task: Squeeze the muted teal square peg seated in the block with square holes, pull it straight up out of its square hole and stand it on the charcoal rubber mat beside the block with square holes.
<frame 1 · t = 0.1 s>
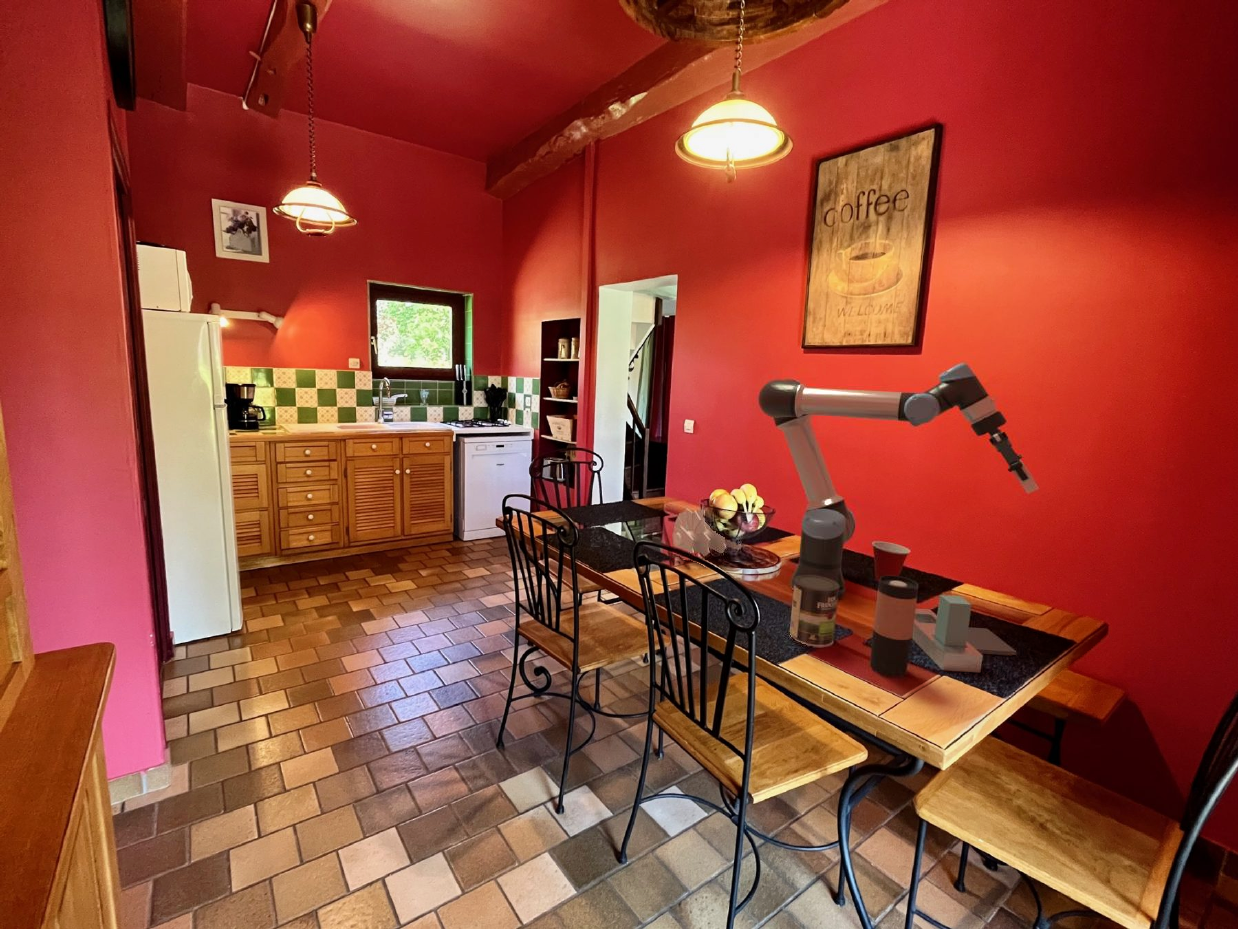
hand: (1031, 486, 147), 36 cm above the table, tool tilted 35°, fingers open, 13 cm apart
rubber mat: (975, 642, 138), on the table
coffee can: (811, 638, 137), on the table
spiral staircase: (706, 558, 193), on the table
travel mug: (887, 669, 124), on the table
plastic cup: (886, 583, 176), on the table
block with square holes: (934, 645, 136), on the table
teal peg: (947, 657, 130), resting in block with square holes
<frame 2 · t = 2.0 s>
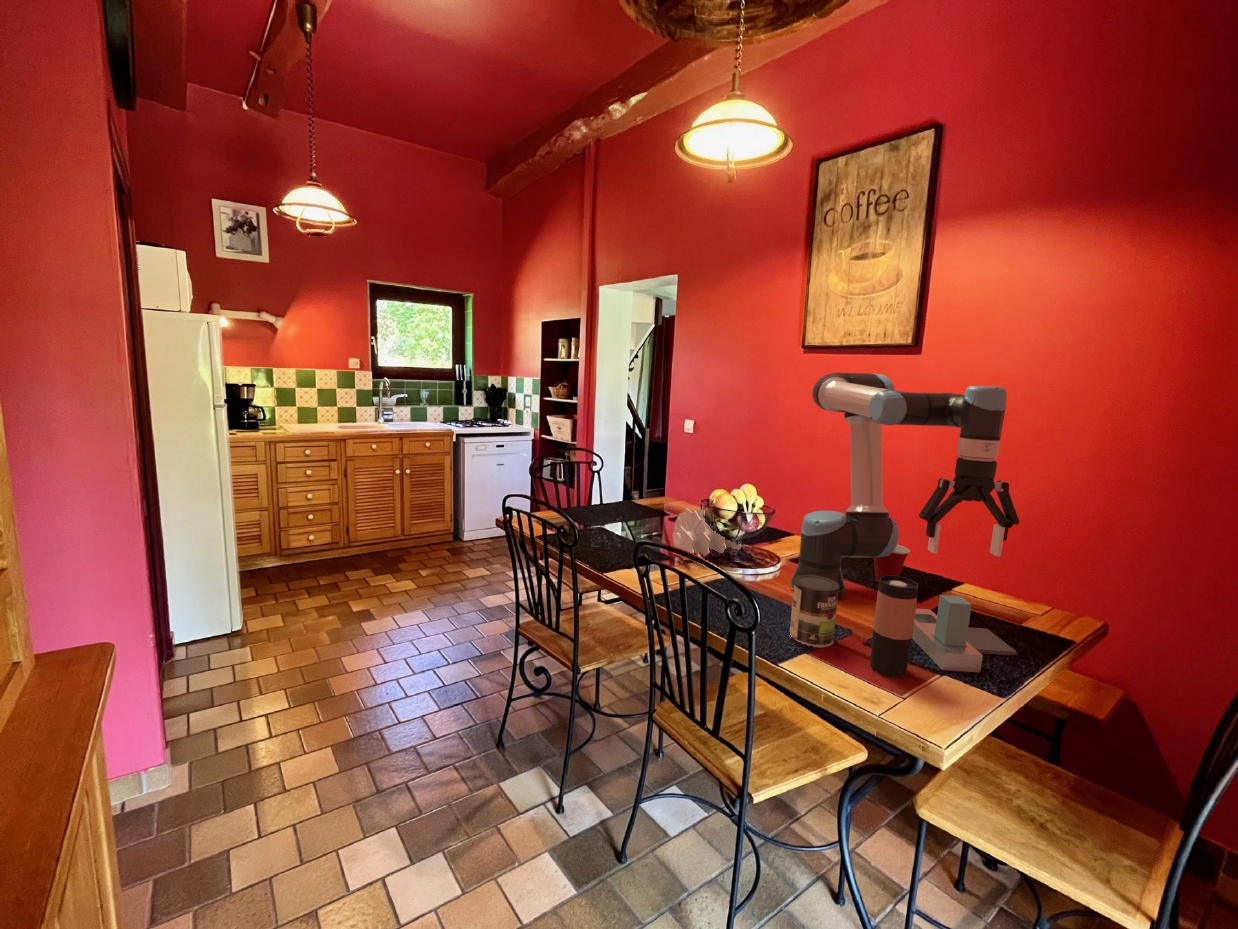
hand: (963, 553, 126), 25 cm above the table, tool pointing down, fingers open, 13 cm apart
nothing on the table moved.
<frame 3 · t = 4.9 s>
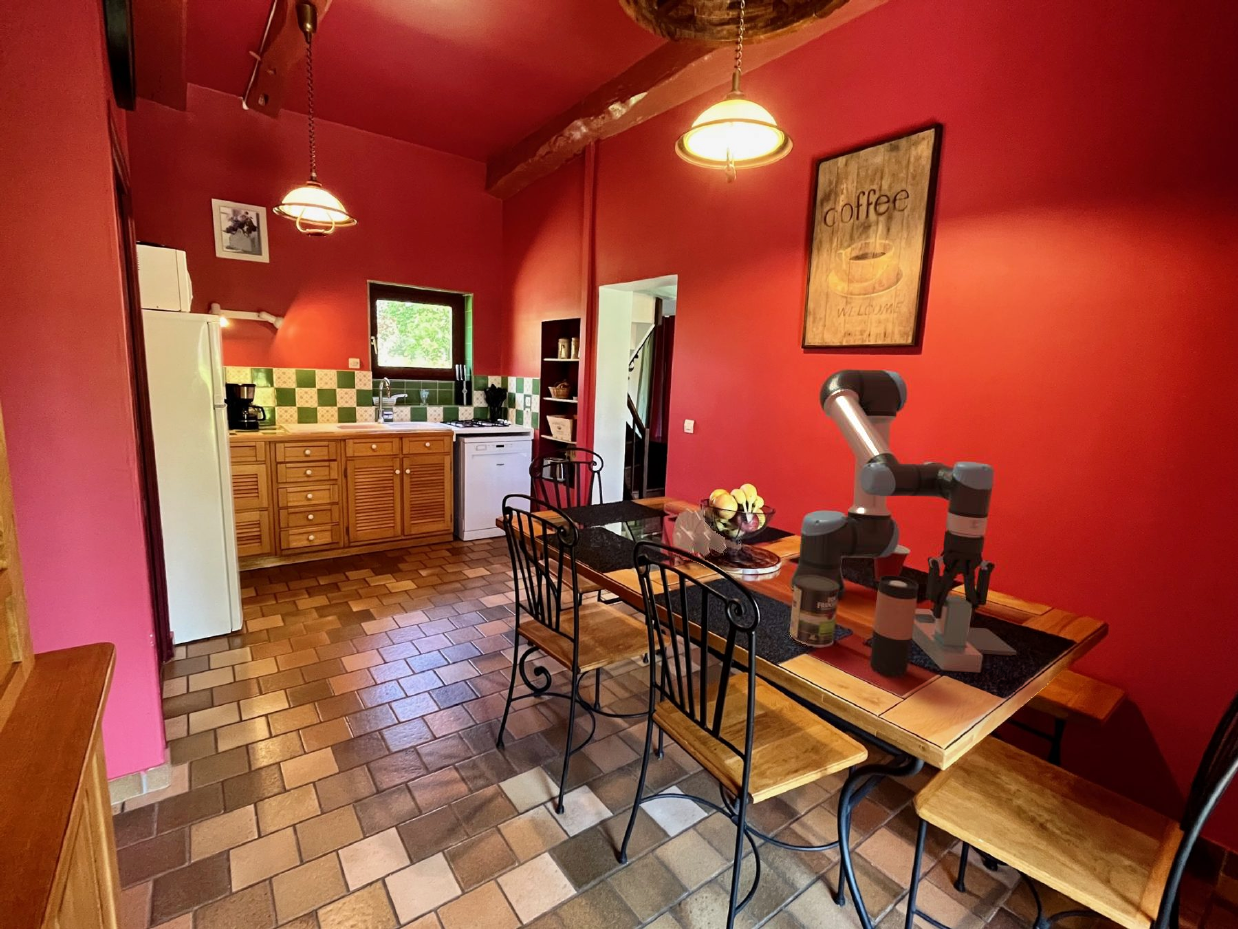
hand: (950, 632, 129), 6 cm above the table, tool pointing down, fingers closed on teal peg, 5 cm apart
teal peg: (947, 657, 130), resting in block with square holes, touching gripper
everything else where it was.
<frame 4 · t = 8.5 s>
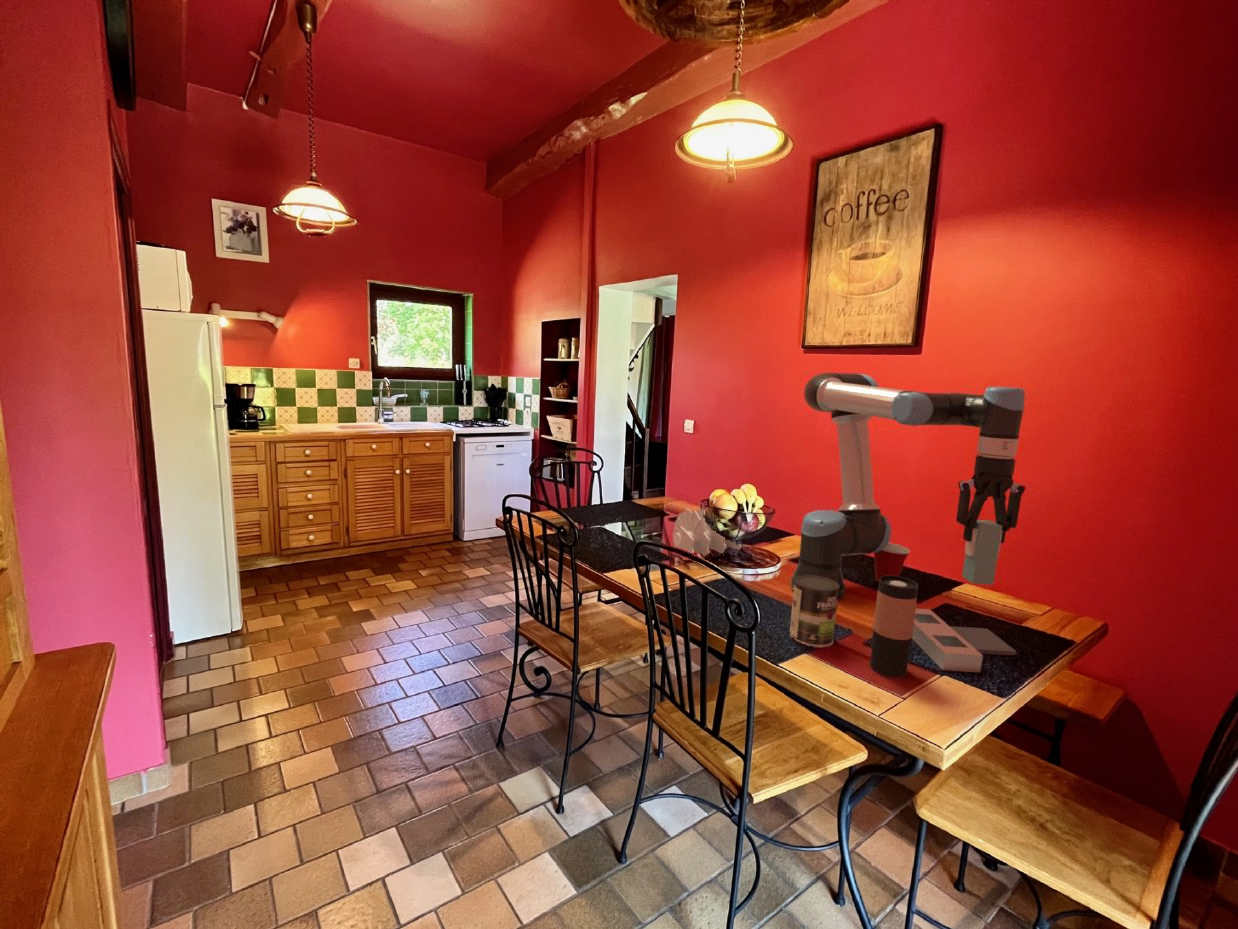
hand: (981, 555, 132), 23 cm above the table, tool pointing down, fingers closed on teal peg, 5 cm apart
teal peg: (977, 580, 133), point 16 cm above the table, touching gripper
everything else where it was.
when the fingers open (9 cm above the table, at t = 12.1 s): teal peg drops 1 cm, resting on rubber mat.
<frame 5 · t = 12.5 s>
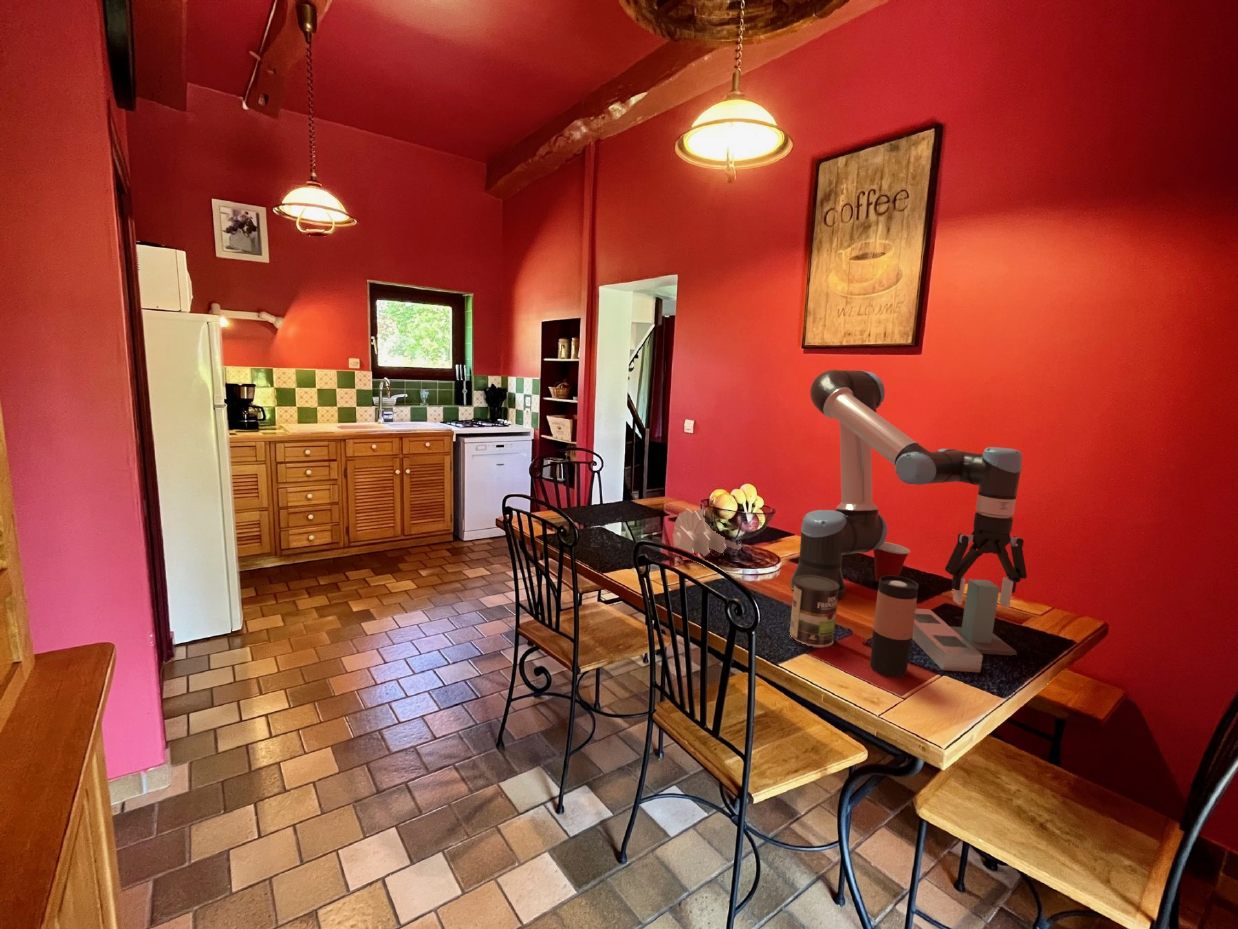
hand: (980, 603, 136), 10 cm above the table, tool pointing down, fingers open, 10 cm apart
teal peg: (975, 638, 138), point 1 cm above the table, touching rubber mat
everything else where it was.
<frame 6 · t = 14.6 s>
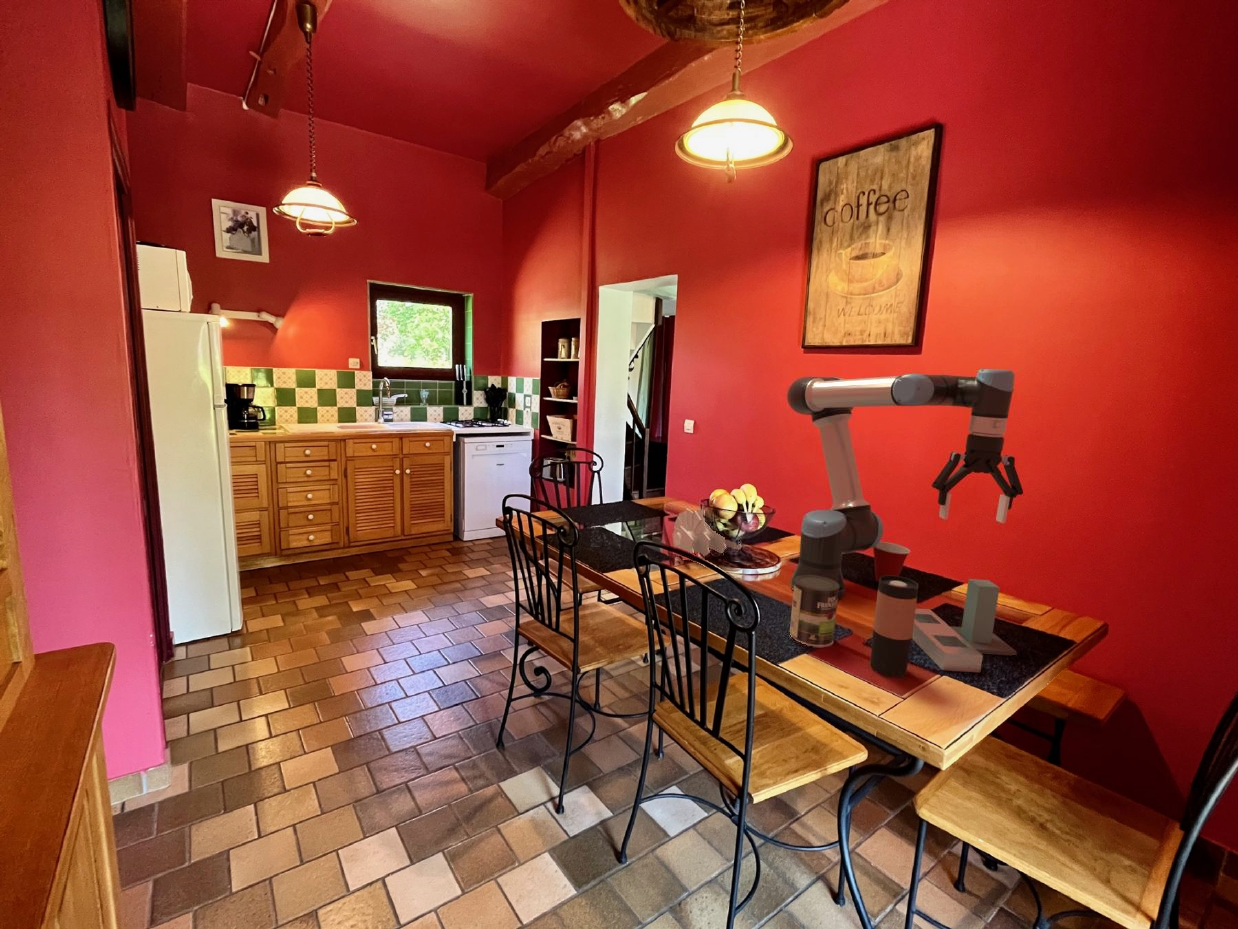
hand: (971, 519, 140), 29 cm above the table, tool pointing down, fingers open, 13 cm apart
nothing on the table moved.
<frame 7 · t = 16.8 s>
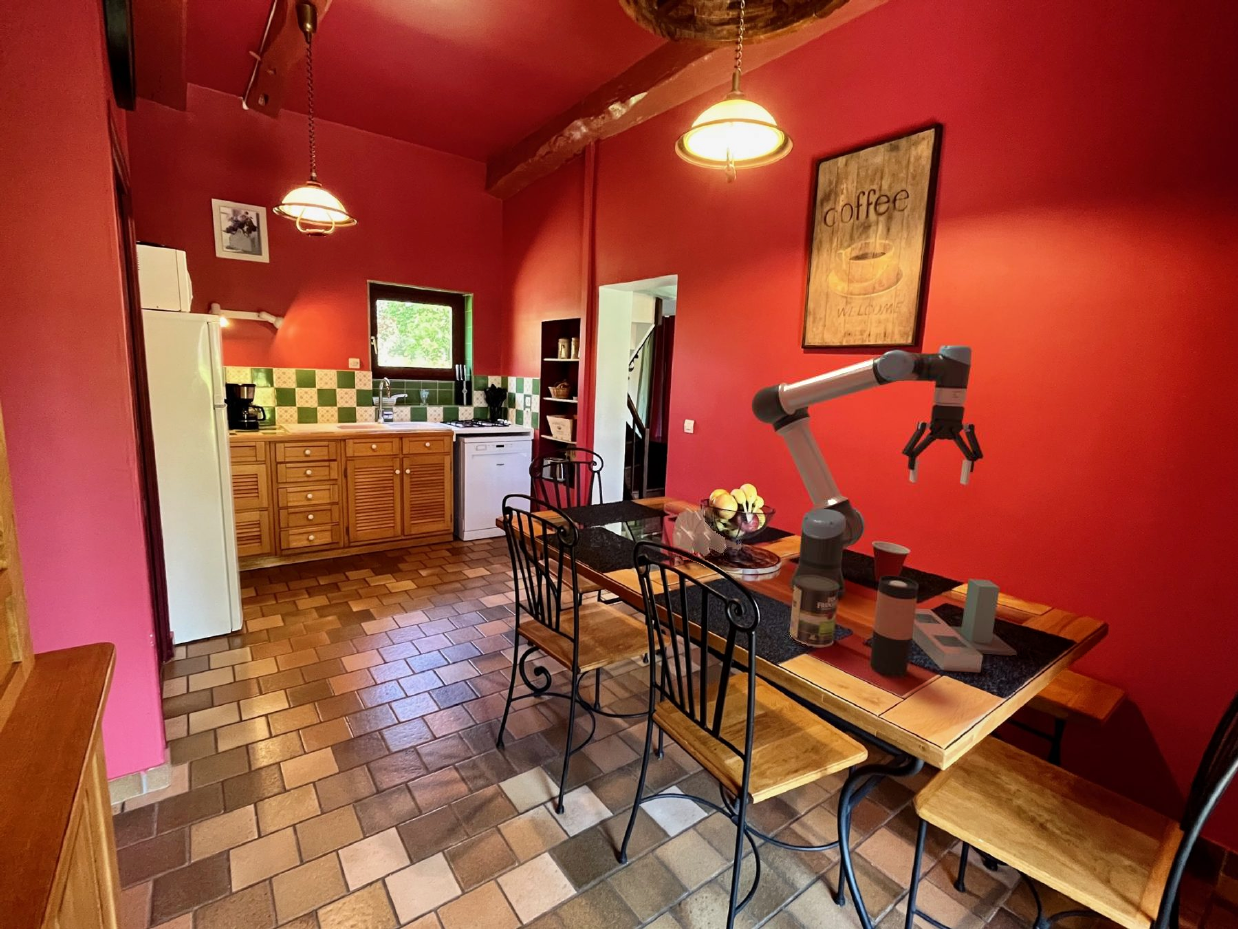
hand: (938, 483, 155), 35 cm above the table, tool pointing down, fingers open, 13 cm apart
nothing on the table moved.
at the end: teal peg inside the target area on the rubber mat (0.0 cm from its centre), point 1.0 cm above the rubber mat's base; teal peg tilted 0°; teal peg touching rubber mat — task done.
